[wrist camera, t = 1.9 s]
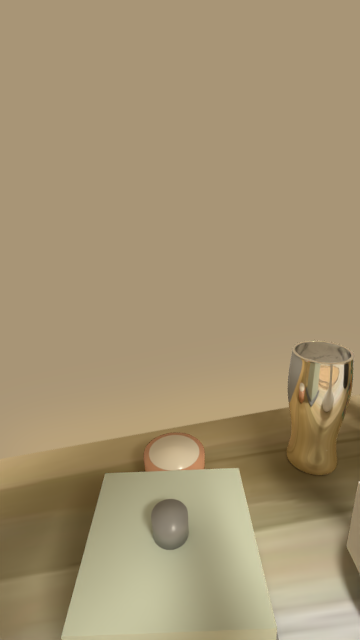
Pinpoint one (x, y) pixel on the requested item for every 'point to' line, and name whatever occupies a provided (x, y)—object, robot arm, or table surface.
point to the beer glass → (317, 403)
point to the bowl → (174, 453)
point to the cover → (171, 562)
